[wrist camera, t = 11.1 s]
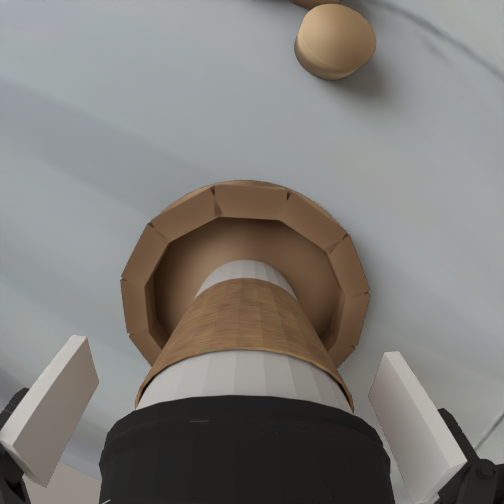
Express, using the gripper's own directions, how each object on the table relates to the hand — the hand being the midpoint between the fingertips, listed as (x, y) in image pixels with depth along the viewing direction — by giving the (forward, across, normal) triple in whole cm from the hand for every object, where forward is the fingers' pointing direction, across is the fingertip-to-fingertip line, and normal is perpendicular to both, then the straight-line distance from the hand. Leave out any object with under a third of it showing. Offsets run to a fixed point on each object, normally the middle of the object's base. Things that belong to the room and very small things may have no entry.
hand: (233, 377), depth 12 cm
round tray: (+8, 0, 0) cm, 8 cm away
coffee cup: (+7, 0, 0) cm, 7 cm away
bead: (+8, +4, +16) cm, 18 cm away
